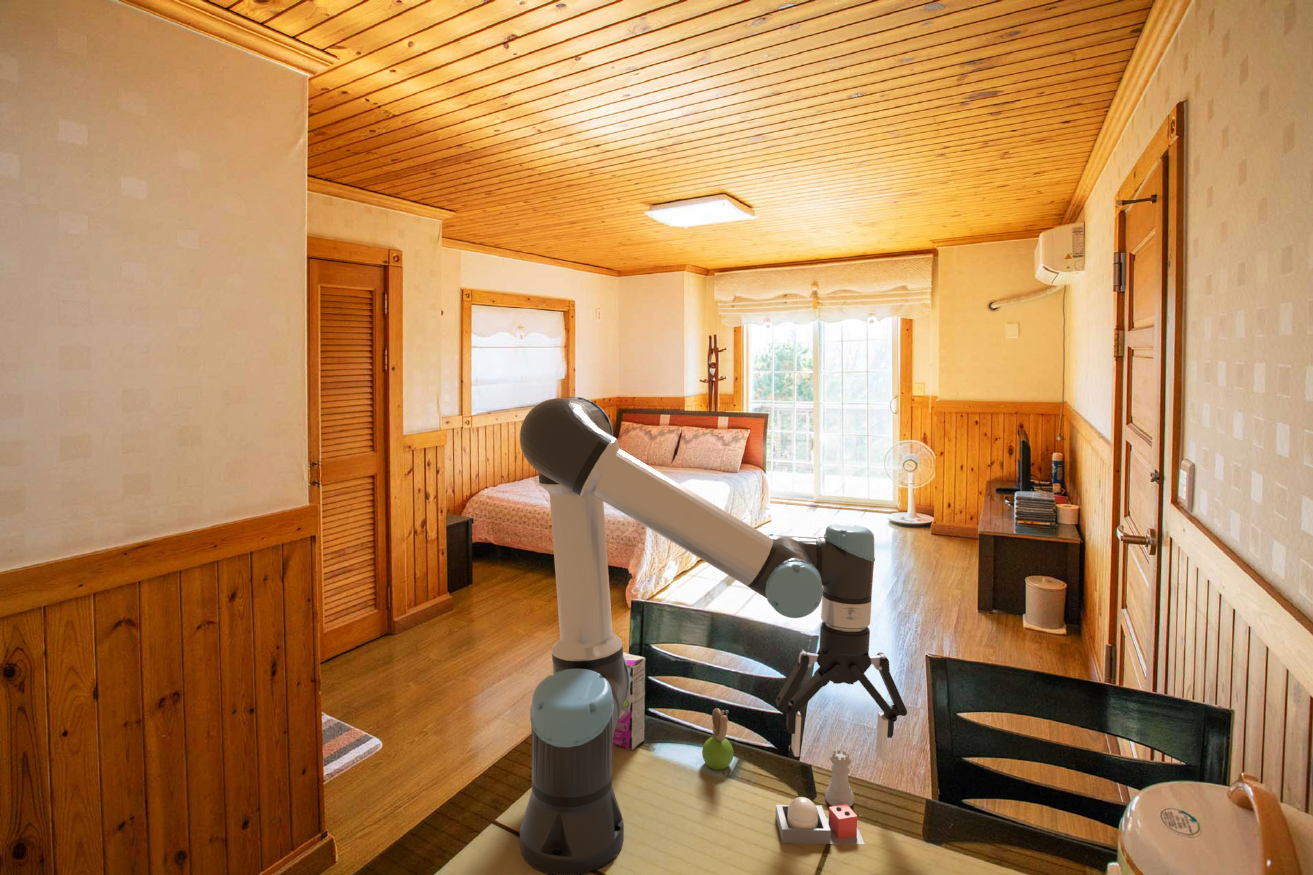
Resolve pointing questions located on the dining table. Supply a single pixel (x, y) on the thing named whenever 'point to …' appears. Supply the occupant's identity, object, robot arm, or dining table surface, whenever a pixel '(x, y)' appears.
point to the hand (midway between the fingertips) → (837, 754)
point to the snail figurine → (718, 743)
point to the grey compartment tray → (822, 827)
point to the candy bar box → (632, 706)
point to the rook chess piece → (839, 781)
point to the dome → (802, 814)
